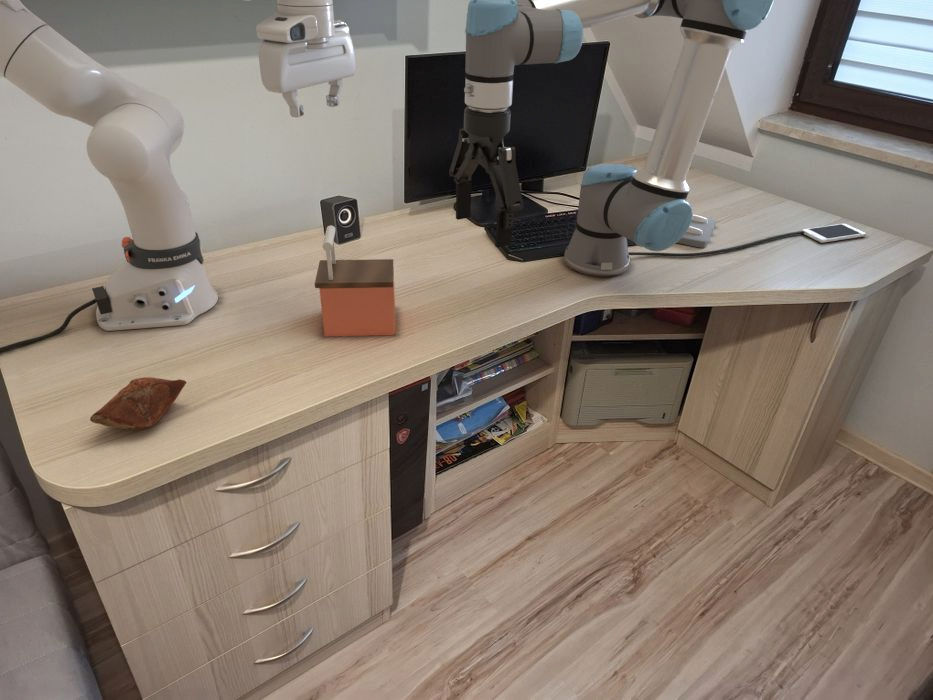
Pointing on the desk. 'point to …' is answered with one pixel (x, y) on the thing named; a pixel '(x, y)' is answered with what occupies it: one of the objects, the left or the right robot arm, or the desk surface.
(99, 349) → the desk surface
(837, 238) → the smartphone
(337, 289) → the chest
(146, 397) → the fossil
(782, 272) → the desk surface
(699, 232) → the light switch
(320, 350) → the desk surface
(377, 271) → the lid
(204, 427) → the desk surface
